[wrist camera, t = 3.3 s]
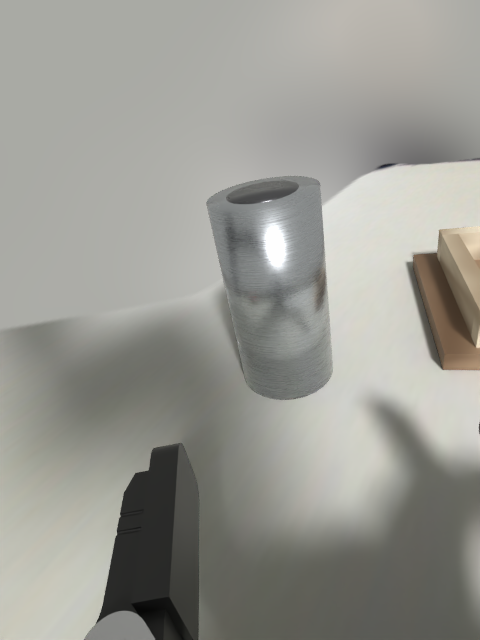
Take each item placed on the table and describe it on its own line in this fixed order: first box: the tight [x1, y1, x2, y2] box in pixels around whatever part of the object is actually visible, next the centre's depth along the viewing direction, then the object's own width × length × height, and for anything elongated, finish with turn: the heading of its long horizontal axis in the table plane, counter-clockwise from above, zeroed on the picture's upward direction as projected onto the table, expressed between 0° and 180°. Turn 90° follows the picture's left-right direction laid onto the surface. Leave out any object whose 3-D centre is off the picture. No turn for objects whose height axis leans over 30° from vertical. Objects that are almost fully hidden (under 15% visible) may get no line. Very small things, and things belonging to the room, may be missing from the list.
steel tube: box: [207, 176, 333, 400], centre depth 20 cm, size 5×5×10 cm
